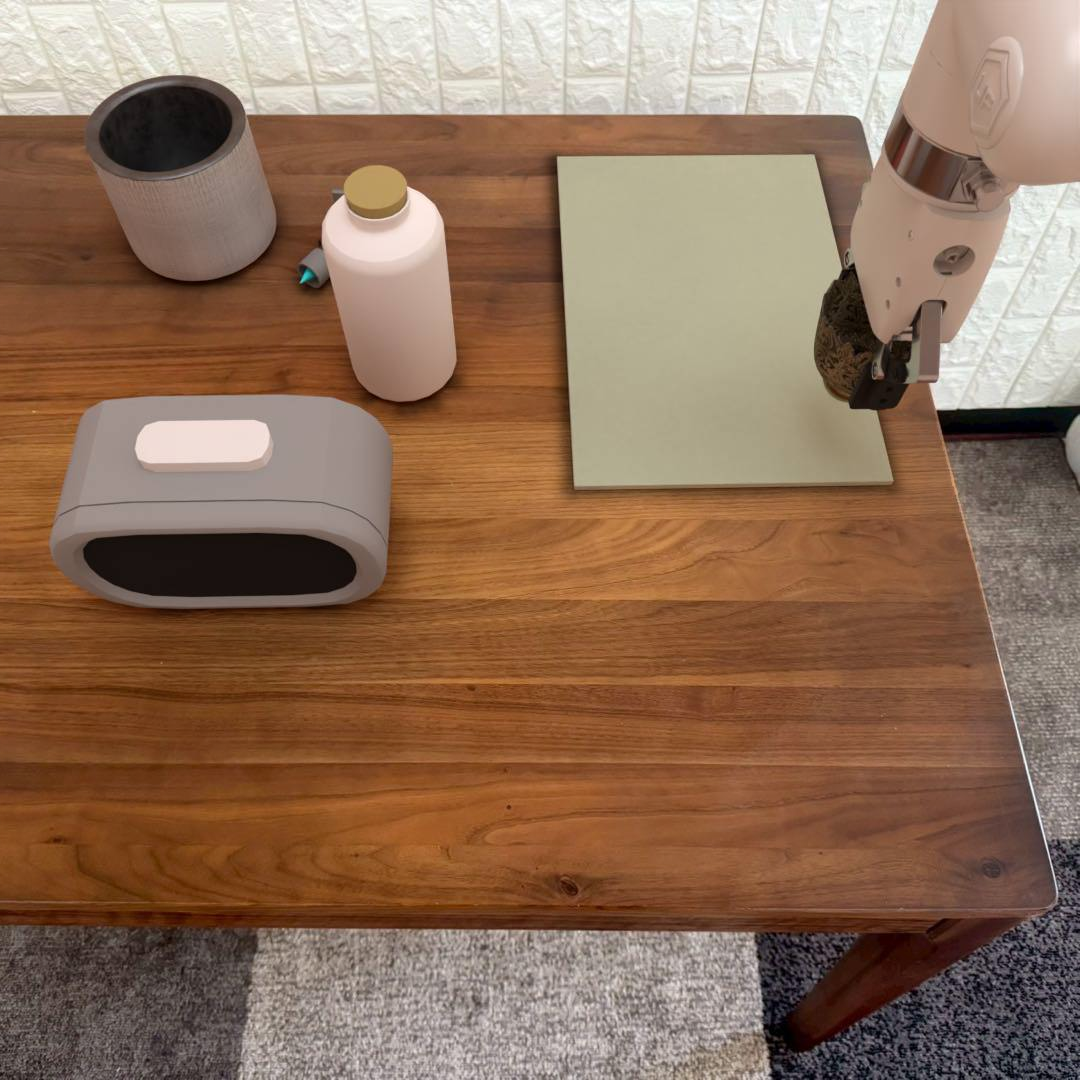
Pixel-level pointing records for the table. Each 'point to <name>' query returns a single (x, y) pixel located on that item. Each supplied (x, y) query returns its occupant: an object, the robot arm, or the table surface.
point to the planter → (183, 176)
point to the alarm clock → (226, 502)
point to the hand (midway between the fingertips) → (860, 356)
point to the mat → (703, 326)
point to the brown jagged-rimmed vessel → (846, 338)
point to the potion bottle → (391, 284)
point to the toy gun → (316, 260)
